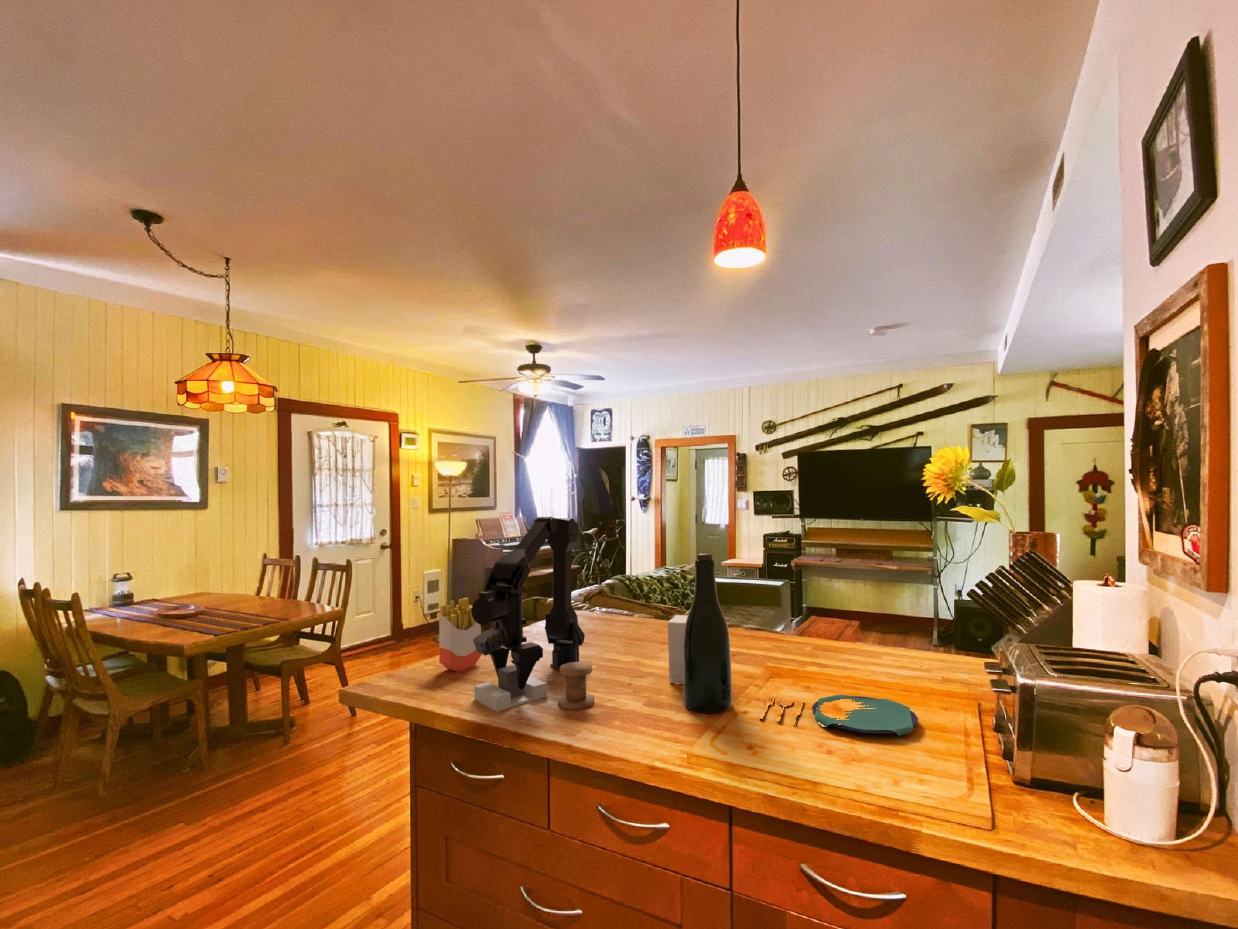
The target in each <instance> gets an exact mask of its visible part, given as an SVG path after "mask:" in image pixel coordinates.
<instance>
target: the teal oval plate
mask: <svg viewBox="0 0 1238 929" xmlns="http://www.w3.org/2000/svg"><path fill="white" fill-rule="evenodd" d="M840 699H852V702H853V700H854V701H855V702H862V703H861V704H859V705H863V706H864V705H865V707H859V708H874V709H859V710H858V709H857V710H856V709H855V710H852V711H845V712H852V713H849V714H848V713H847V714H845V715H849V716H848V717H846V718H845V719H849V720H836V719H837V718H830V717H828V716H825V715H824V714H822V713H821V712H822V711H820V709H819V708H821V707H820V705H823V703H824V702H830V701H831V702H832V701H835V700H840ZM863 702H864V703H863ZM857 705H858V704H857ZM866 705H869V706H866ZM816 708H817V709H816ZM875 708H876V709H875ZM811 709H812V713H813V715H814V719H815V721H816V723H817V722H820V723H821V724H823V725H824V726H826V728H827V727H828V726H829V725H830V726H832V727H836V728H838V729H842V730H846V731H850V732H856V733H860V734H861V733H862V734H871V735H872V734H873V735H875V734H876V735H889V734H897V735H898V736H899V737H900V736H904V735H909V734H911V733H912V732H913V730H914V728H915V727H917V724H918V722H919V717H917V715H916V714H915V712H914V711H912V710H911V708H910V706H908V705H905V704H903V703H900V702H897V701H894V700H891V699H888V698H876V697H869V696H861V695H860V696H859V695H846V694H834V695H830V696H824V697H821V698H818V700H817V701H815V702H814V704H813V705H812V706H811ZM850 715H851V716H850ZM839 719H840V718H839ZM838 724H841V725H838Z"/></svg>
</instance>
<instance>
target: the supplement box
mask: <svg viewBox="0 0 1238 929" xmlns="http://www.w3.org/2000/svg"><path fill="white" fill-rule="evenodd" d="M687 617H688V615H682V614H675V615H674V616H673V617H672V618H671V619H670V620H668V622H667V645H668V647H667V648H668V649H667V650H668V677H669V678H668V679H669V681H668V682H671V683H678V684H677V685H680V684H683V644H684V629H685V623H686V620H687Z"/></svg>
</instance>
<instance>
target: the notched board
mask: <svg viewBox="0 0 1238 929" xmlns="http://www.w3.org/2000/svg"><path fill="white" fill-rule="evenodd" d="M473 686H474V688H473V690H474V698H473V699H475V701H476V700H477V701H476V702H478V703H480V702H481V704H482V705H483V706H485V705H486V707H487V708H489V709H490V710H492V709H493V711H494V712H496V713H497V712H500V711H504V710H506V709H509V708H510V709H511V708H513V707H518V706H520V705H523V704H527V703H530V702H533V701H537V700H540V698H541V699H543V698H546V697H548V696H547V695H548V694H547V693H548V690H547V688H548V687H547V686H548V684H547V682H545V681H544V680H541V679H538V678H537V677H534V676H531V675H530V676H529V678H528V680H527V682H526V685H525V687H524V688H523V695H522V696H519V697H516V698H512V699H511V694H510V693H509V692H507V691H505V690H503V689H501V688H499V687H498V685H495V684H493V683H490V682H483V683H479V684H476V685H473Z"/></svg>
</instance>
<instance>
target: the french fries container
mask: <svg viewBox="0 0 1238 929" xmlns="http://www.w3.org/2000/svg"><path fill="white" fill-rule="evenodd" d="M449 603H450V605H446V604H440V605H439V606H440V607H439V609H440V614H439V618H438V623H439V624H438V627H439V633H438V634H439V637H438V638H439V640H438V642H439V652H438V656H439V658H438V659H439V664H441V666H443V667H445V669H447V670H449V671H452V670H453V672H456V671H457V673H459V672H462V671H465V670H468V669H470V668H469V667H471V668H473V667H475V666H476V664H477V663H478V661H479V660H480V658H481V657H482V655H483V654H482V653H478V652H477V650H476V647H475V644H474V642H473V639H474V638H475V637H477V636H478V635H480V634H482V625H480V624H478V623H477V622H476V621H475V620H474V619H473V617H472V613H471V608H472V606H473V604H470V598H469V597H463V598H462V599H461V598H460V599H458V604H456V605H455V601H454V600H450V601H449ZM467 668H468V669H467ZM458 671H459V672H458Z"/></svg>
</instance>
